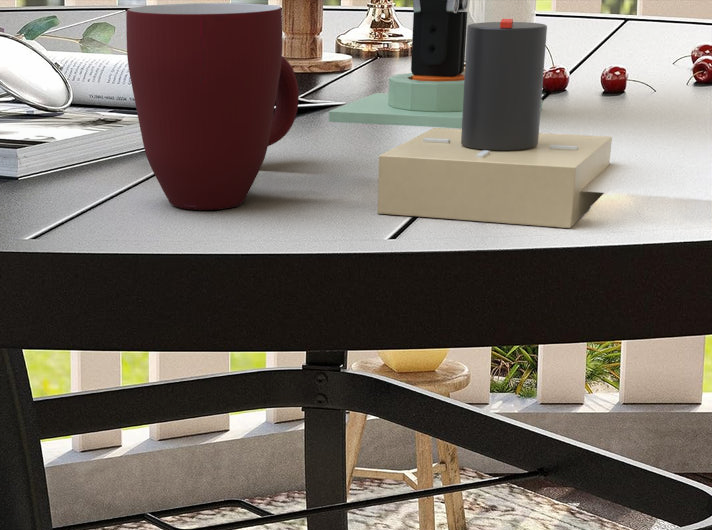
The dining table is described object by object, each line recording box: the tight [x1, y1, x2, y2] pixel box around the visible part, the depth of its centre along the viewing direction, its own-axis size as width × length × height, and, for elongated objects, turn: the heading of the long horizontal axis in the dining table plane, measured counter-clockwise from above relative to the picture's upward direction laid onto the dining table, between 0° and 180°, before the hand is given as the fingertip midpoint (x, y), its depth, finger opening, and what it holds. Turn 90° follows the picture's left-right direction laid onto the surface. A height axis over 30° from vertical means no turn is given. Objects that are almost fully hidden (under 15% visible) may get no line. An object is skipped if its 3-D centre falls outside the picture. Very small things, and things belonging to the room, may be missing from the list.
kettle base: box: [328, 72, 544, 129], centre depth 94 cm, size 12×10×4 cm
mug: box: [125, 2, 300, 211], centre depth 75 cm, size 10×8×10 cm
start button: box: [412, 74, 465, 81], centre depth 94 cm, size 4×4×2 cm
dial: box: [461, 18, 548, 151], centre depth 73 cm, size 4×4×6 cm
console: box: [376, 127, 613, 229], centre depth 74 cm, size 10×10×3 cm
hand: (437, 74), depth 94 cm, fingers closed
